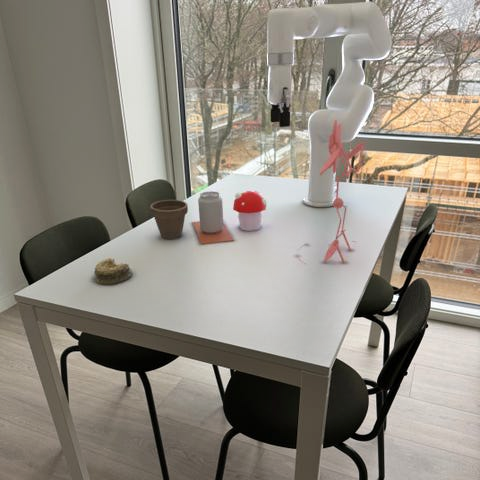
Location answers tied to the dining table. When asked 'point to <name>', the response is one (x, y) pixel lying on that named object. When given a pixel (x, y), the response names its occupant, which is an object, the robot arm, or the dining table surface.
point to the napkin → (212, 235)
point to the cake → (111, 272)
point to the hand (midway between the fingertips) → (280, 124)
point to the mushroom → (249, 209)
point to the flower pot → (169, 217)
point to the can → (210, 212)
